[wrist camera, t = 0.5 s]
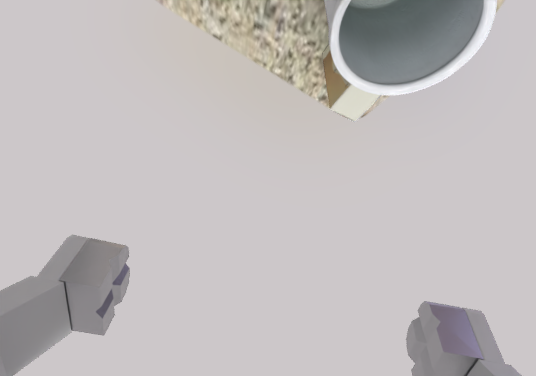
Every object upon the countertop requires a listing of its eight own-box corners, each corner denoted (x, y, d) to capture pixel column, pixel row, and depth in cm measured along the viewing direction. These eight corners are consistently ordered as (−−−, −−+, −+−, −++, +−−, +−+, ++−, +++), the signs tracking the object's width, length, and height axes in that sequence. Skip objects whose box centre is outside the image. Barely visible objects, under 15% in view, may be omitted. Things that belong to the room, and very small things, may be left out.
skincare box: (347, 18, 56) (361, 72, 48) (372, 33, 58) (390, 87, 50) (319, 55, 60) (328, 111, 52) (344, 68, 62) (355, 123, 54)
